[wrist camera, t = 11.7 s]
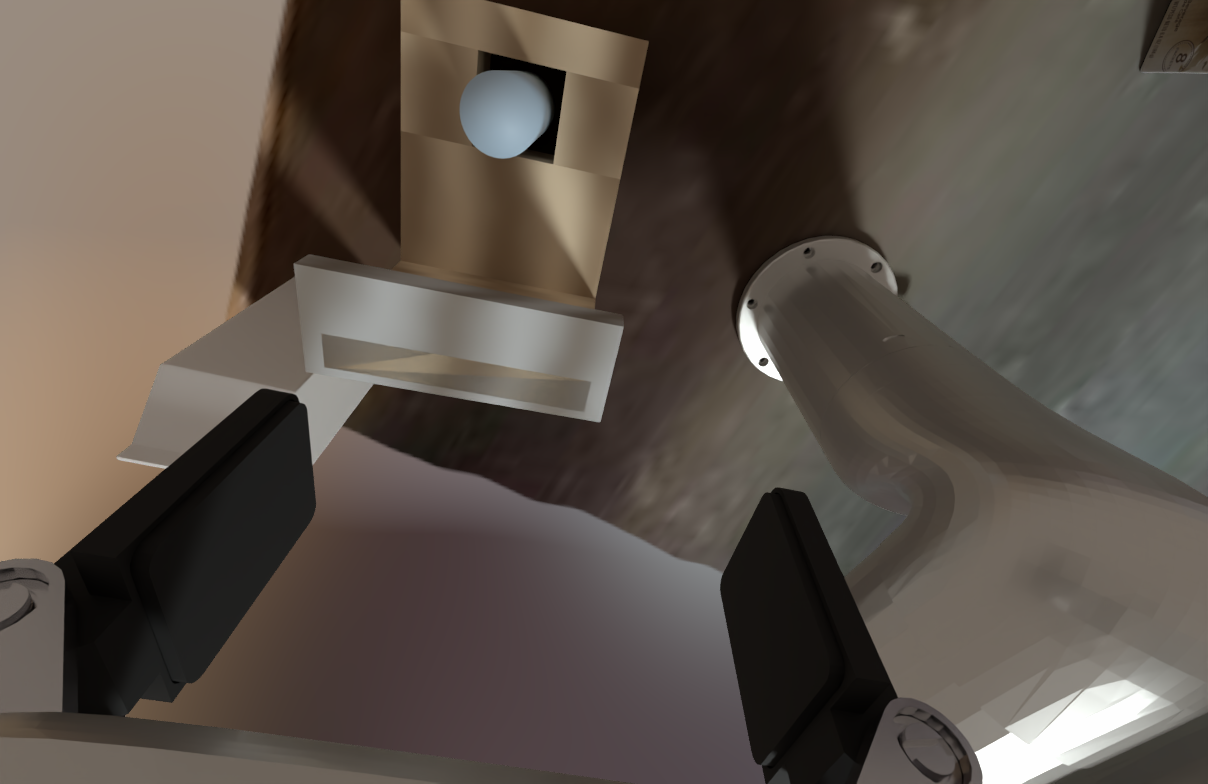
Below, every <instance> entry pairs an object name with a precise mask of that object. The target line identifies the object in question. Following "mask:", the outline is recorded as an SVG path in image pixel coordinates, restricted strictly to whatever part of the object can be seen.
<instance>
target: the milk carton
mask: <svg viewBox="0 0 1208 784" xmlns="http://www.w3.org/2000/svg"><path fill="white" fill-rule="evenodd" d="M372 385H373V383H367V382H362V381H356V380H350V379H344V378H338V377H332V376H327V375H321V374H315V373H309V372H306V371H305V362H304V353H303V344H302V335H301V326H300V317H299V308H298V299H297V290H296V281H295V277H293V278H292V279H290V280H289V281H287V282H286V283H284V284H283V285H281V286H280V287H278V288H277V289H275V290H274V291H272V292H270V293H269V294H267V295H266V296H264V297H263V298H261V299H260V300H258V301H257V302H255V303H254V304H252V305H251V306H249V307H248V308H246V309H245V310H243V311H242V312H240V313H238V314H237V315H235V316H234V317H232V318H231V319H229V320H228V321H226V322H225V323H223V324H222V325H220V326H219V327H217V328H216V329H214V330H213V331H211V332H210V333H208V334H206V335H205V336H203V337H202V338H200V339H199V340H197V341H196V342H194V343H193V344H191V345H190V346H188V347H187V348H185V349H184V350H182V351H181V352H179V353H178V354H176V355H174V356H173V357H172V358H170V359H168V360H167V361H165V362H164V363H162V364H160V367H159V369H158V372H157V375H156V378H155V381H154V383H153V386H152V389H151V392H150V395H149V397H148V400H147V403H146V406H145V409H144V411H143V414H142V417H141V420H140V423H139V425H138V428H137V431H136V434H135V437H134V439H133V442H132V444H131V445H130V446H129V447H128V448H126V449H125V450H124V451H122V452H121V453H120V454H119V455H117V459H118V460H122V461H127V462H133V463H137V464H143V465H148V466H154V467H159V468H165V469H166V468H167V467H168V466H169V465H171V464H172V463H173V462H174V461H175V460H176V459H178V458H179V457H180V456H181V455H182V454H184V453H185V452H186V451H187V450H188V449H190V448H191V447H192V446H193V445H194V444H195V443H197V442H198V441H199V440H200V439H201V438H203V437H204V436H205V435H206V434H207V433H208V432H210V431H211V430H212V429H213V428H214V427H215V426H217V425H218V424H219V423H220V422H221V421H222V420H224V419H225V418H226V417H227V416H228V415H230V414H231V413H232V412H233V411H234V410H235V409H237V408H238V407H239V406H240V405H241V404H242V403H244V402H245V401H246V400H247V399H248V398H249V397H251V396H252V395H253V394H254V393H255V392H257V391H258V390H260V389H264V388H266V389H271V390H276V391H281V392H287V393H292V394H295V395H297V397H298V399H299V403H303V404H305V405H306V407H307V412H308V423H309V434H310V445H311V455H312V465H313V464H314V463H315V461H316V460H317V459H318V457H319V456H320V455H321V453H322V452H323V451H324V449H325V448H326V447H327V445H328V444H329V443H330V441H331V440H332V439H333V437H334V436H335V435H336V433H337V432H338V431H339V429H340V428H341V427H342V425H343V424H344V423H345V421H346V420H347V419H348V417H349V416H350V415H351V413H352V412H353V411H354V409H355V408H356V406H357V405H358V404H359V402H360V401H361V400H362V398H363V397H364V396H365V394H366V393H367V392H368V390H369V389H370V388H371V386H372Z"/></svg>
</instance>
